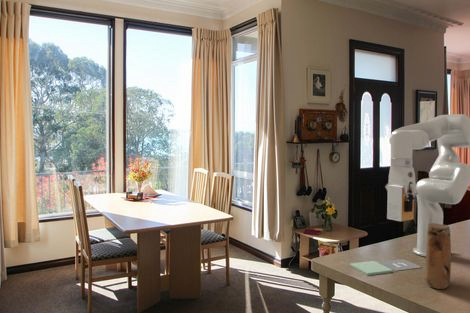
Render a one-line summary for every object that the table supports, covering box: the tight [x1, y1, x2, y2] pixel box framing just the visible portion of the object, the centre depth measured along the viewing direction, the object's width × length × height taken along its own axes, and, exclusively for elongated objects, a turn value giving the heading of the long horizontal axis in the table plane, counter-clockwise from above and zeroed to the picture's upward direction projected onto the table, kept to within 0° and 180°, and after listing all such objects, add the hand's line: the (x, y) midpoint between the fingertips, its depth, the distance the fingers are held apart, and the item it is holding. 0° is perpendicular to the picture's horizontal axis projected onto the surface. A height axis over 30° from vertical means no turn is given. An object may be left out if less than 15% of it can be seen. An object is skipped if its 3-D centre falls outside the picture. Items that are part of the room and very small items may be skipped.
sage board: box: [349, 260, 394, 276], centre depth 146 cm, size 11×11×1 cm
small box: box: [386, 185, 415, 223], centre depth 149 cm, size 8×6×13 cm
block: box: [424, 223, 452, 290], centre depth 130 cm, size 11×8×20 cm
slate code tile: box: [378, 258, 423, 272], centre depth 150 cm, size 12×10×1 cm
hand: (400, 209), depth 149 cm, fingers closed on small box, 7 cm apart
